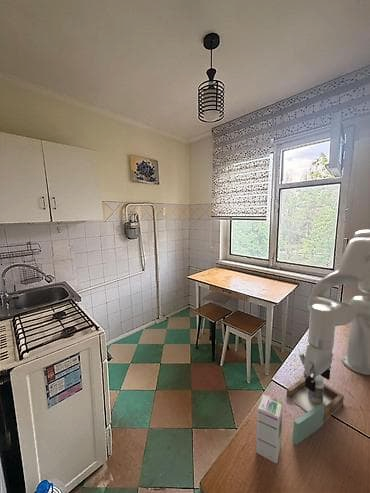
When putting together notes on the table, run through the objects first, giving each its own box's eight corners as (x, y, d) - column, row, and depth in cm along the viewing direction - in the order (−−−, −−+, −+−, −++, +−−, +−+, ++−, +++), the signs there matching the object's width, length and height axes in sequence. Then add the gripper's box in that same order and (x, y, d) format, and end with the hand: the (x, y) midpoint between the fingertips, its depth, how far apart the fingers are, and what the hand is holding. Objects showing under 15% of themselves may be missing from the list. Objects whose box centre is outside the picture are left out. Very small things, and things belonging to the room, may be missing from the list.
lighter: (317, 377, 89) (319, 359, 88) (316, 379, 88) (318, 361, 86) (298, 368, 94) (300, 351, 93) (297, 370, 92) (299, 353, 91)
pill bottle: (325, 404, 76) (326, 383, 74) (310, 402, 77) (311, 381, 75) (319, 393, 80) (321, 373, 79) (305, 391, 81) (307, 371, 80)
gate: (318, 422, 69) (320, 403, 68) (322, 426, 68) (324, 406, 67) (292, 441, 64) (294, 420, 63) (296, 445, 63) (297, 424, 62)
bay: (307, 380, 87) (308, 374, 87) (342, 403, 77) (343, 395, 76) (286, 396, 80) (286, 389, 79) (321, 423, 69) (322, 415, 69)
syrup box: (277, 465, 58) (280, 418, 56) (255, 452, 61) (257, 407, 59) (280, 445, 63) (283, 402, 61) (259, 435, 66) (262, 393, 64)
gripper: (322, 327, 82) (319, 367, 85) (295, 343, 74) (293, 387, 77) (344, 336, 76) (340, 379, 79) (318, 355, 67) (315, 402, 70)
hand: (317, 383), depth 78 cm, fingers open, 9 cm apart
